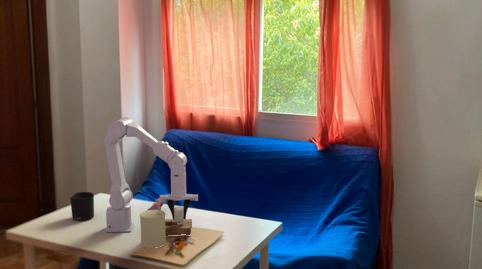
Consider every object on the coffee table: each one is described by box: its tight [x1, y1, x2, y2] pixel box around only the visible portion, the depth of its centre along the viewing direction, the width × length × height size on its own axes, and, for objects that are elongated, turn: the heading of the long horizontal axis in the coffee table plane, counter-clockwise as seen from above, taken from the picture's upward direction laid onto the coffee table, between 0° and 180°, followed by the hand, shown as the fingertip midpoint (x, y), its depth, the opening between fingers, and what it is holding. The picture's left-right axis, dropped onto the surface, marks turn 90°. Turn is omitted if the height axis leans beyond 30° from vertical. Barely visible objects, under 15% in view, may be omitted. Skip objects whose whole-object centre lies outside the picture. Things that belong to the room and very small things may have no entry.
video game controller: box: [147, 198, 166, 211], centre depth 220 cm, size 10×5×7 cm, turn 169°
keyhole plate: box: [165, 218, 193, 236], centre depth 197 cm, size 14×10×3 cm
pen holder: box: [69, 191, 95, 222], centre depth 212 cm, size 9×9×10 cm
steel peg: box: [174, 206, 184, 225], centre depth 197 cm, size 4×4×10 cm
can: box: [139, 209, 167, 249], centre depth 185 cm, size 9×9×12 cm
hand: (179, 218), depth 196 cm, fingers closed on steel peg, 4 cm apart
